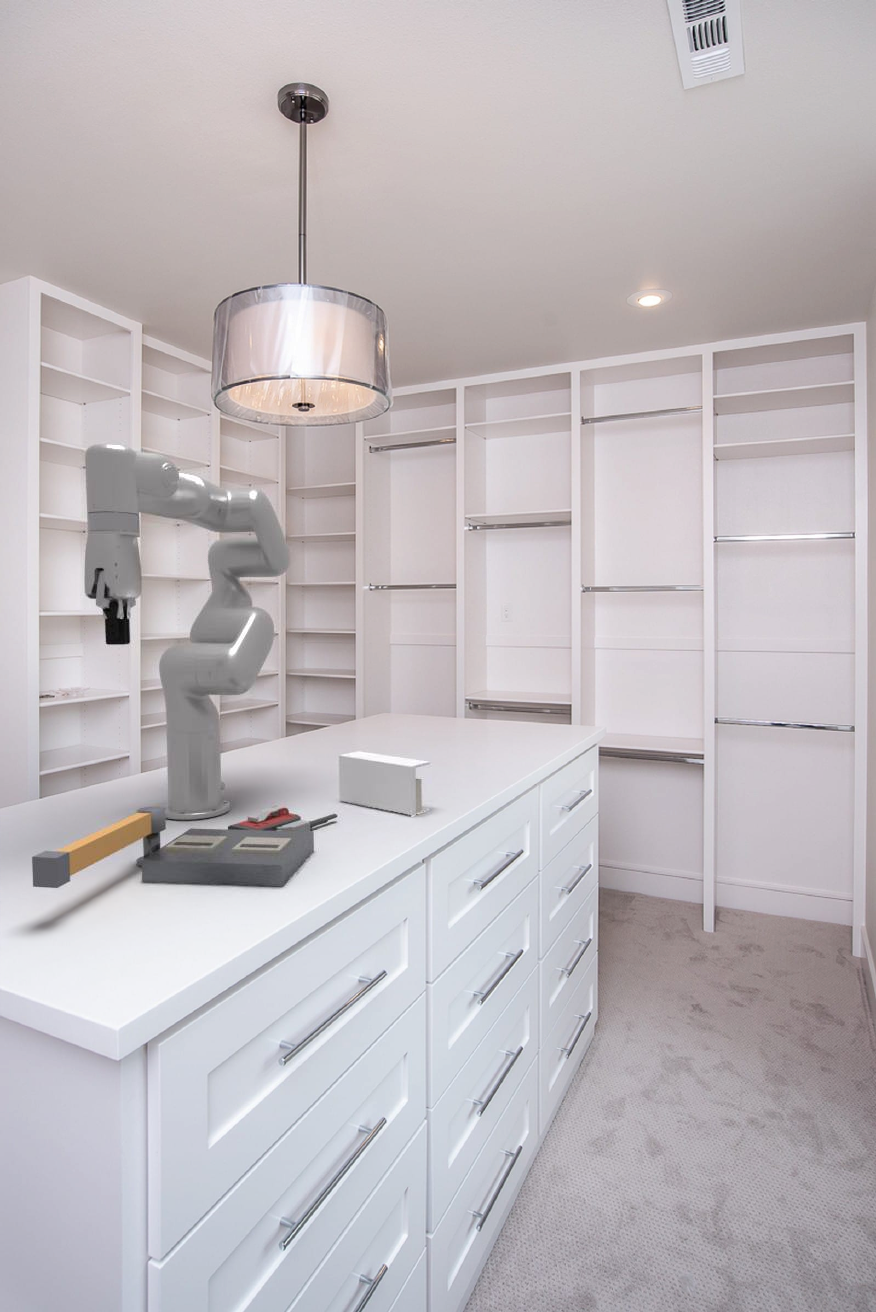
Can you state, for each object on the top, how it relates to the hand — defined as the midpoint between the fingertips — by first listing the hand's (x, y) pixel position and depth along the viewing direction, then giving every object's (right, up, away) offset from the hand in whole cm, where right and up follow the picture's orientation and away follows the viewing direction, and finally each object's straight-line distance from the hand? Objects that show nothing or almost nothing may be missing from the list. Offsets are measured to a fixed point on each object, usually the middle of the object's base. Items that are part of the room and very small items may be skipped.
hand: (118, 644), depth 122 cm
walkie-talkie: (+24, -32, +10) cm, 42 cm away
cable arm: (+6, -29, -17) cm, 34 cm away
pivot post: (+8, -33, -6) cm, 34 cm away
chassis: (+20, -33, -8) cm, 39 cm away
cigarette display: (+40, -31, +27) cm, 57 cm away
